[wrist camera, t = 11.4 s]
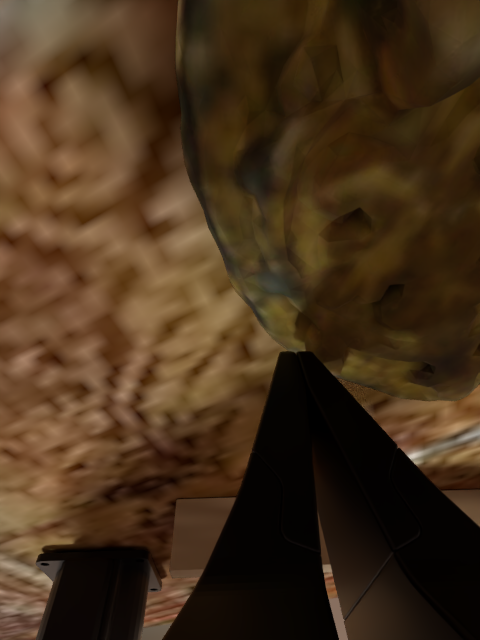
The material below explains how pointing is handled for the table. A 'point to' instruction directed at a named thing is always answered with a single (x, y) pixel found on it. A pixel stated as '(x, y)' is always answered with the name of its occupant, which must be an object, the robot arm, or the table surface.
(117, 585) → the robot arm
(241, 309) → the table surface
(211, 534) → the frame
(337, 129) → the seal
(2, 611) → the table surface
